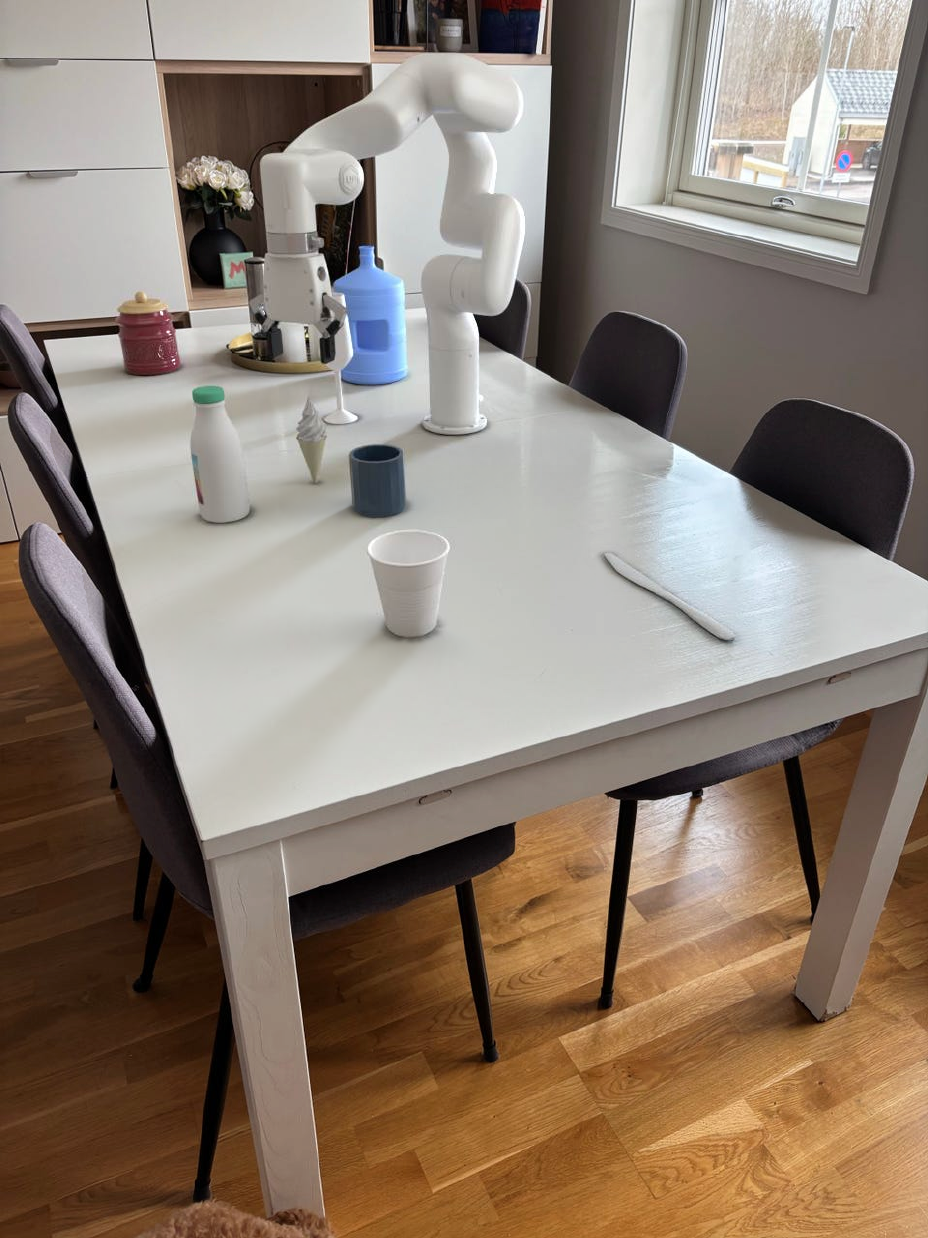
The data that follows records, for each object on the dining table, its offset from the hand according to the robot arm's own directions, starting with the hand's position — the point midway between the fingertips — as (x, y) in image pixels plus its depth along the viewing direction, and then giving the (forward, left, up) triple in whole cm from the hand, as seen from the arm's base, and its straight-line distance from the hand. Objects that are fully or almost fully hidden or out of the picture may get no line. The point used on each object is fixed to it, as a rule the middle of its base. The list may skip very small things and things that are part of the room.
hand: (301, 358), depth 151 cm
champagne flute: (-32, -13, -21) cm, 40 cm away
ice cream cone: (0, +1, -21) cm, 21 cm away
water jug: (-62, -22, -21) cm, 69 cm away
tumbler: (+5, +16, -21) cm, 27 cm away
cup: (+37, +38, -21) cm, 57 cm away
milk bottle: (+17, -5, -21) cm, 28 cm away
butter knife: (+17, +64, -21) cm, 70 cm away
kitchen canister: (-48, -74, -21) cm, 91 cm away
